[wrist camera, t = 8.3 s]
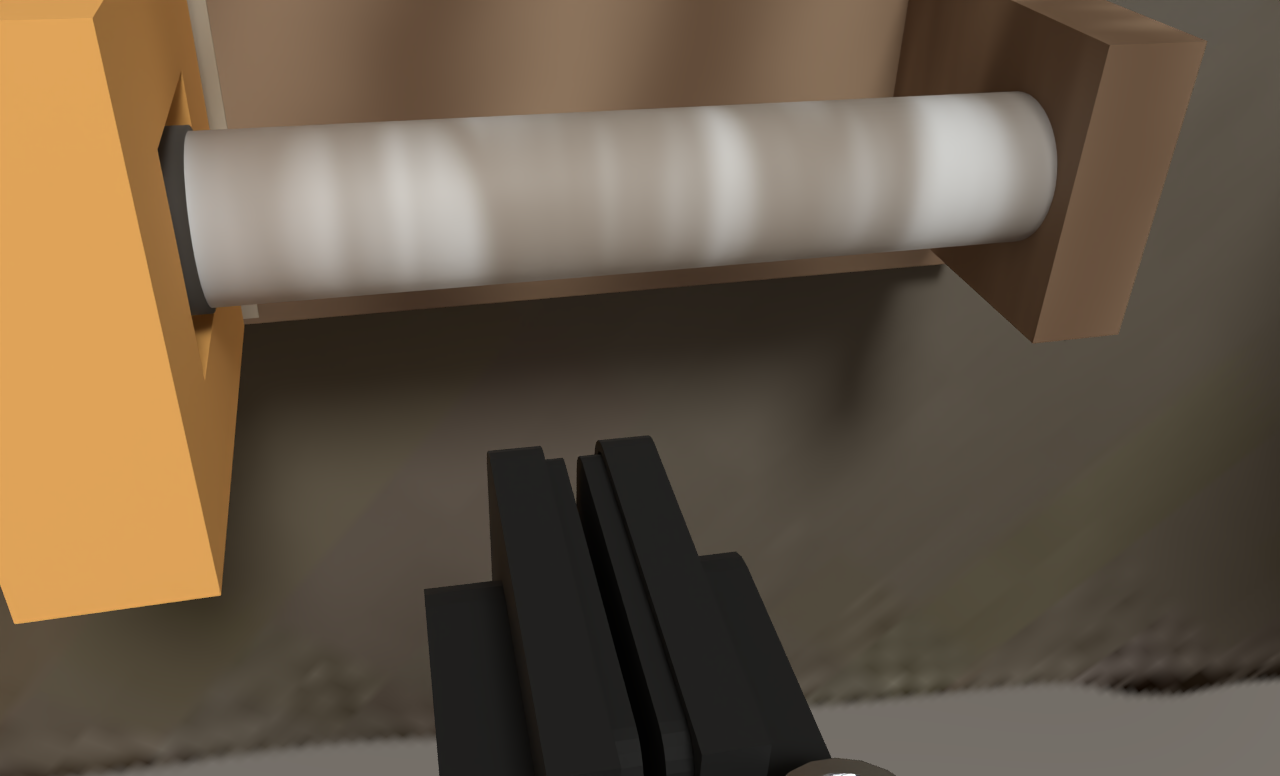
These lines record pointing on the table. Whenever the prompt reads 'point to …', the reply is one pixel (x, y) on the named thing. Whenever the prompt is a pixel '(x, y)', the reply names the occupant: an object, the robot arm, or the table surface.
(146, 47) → the collar
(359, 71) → the pipe stand
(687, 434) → the table surface
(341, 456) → the table surface
